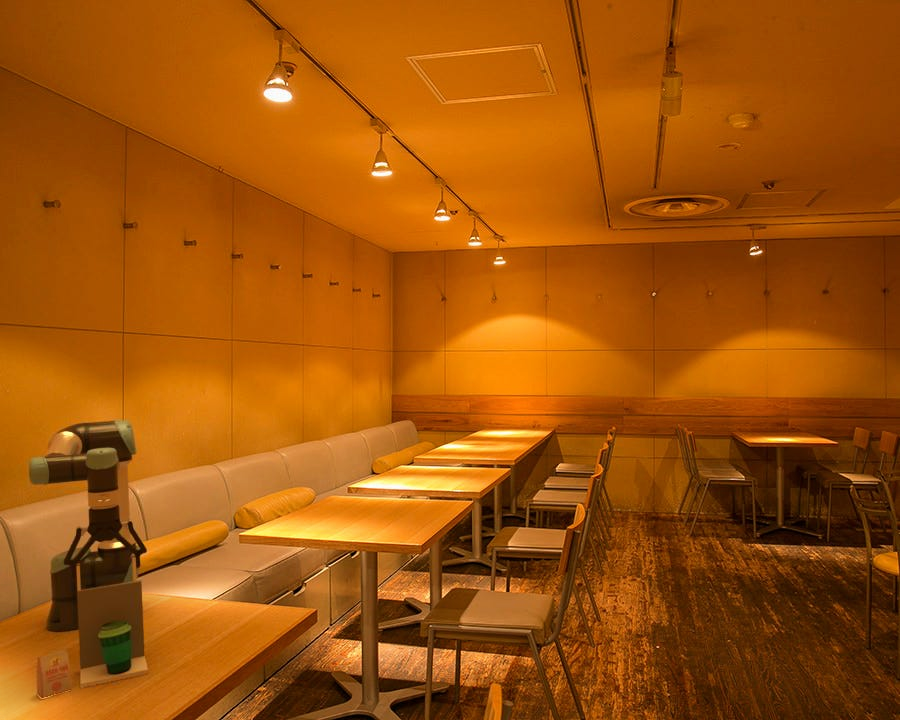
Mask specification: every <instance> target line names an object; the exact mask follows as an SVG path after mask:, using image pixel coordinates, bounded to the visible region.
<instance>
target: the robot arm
mask: <svg viewBox="0 0 900 720" xmlns="http://www.w3.org/2000/svg"><path fill="white" fill-rule="evenodd" d="M136 454H137V447H136V440H135V436H134V431H133V426H132V423H131V422H130V421H129V420H116V419H115V420H108V421H107V420H104V421H93V422H80V423H76V424H71V425H69V426H66V427H65V428H62V429H60V430H58V431H57V432H56V433H55V434H53V435H52V437H51V438H50V439H49V441H48V444H47V451H46V453H45V455H44V456H37V457H32V458H31V459H30V460H29V464H28V477H29V481H30V483H31V485H35V486H36V485H37V486H38V485H42V486H46V485H50V484H51V485H52V484H53V485H54V484H61V483H62V484H64V483H70V482H71V483H72V482H84V481H87V503H88V507H89V509H88V526H87V527H85V526H84V527H82V526H80V525H79V526H77V527H76V530H75V531H76V532H75V536H74V538H73V540H72V543H71V544H70V546H69V548H68V550H66V551H62V552H59V553H58V554H56V555H55V556H53V557H52V558H51V560H50V571H49V573H50V584H51V586H50V587H51V605H50V608H49V612H48V615H47V619H46V629H47V630H49V631H52V632H66V631H74V630H77V629H78V630H79V624H78V601H77V590H78V591H80V590H83V589H89V588H95V587H102V586H108V585H114V584H120V583H126V582H132V581H138V580H137V579H138V578H139V577H138V576H139V568H141V555H143V554H146V553H147V552H148V549H147V547H146V546H145V544H144V542H143V541H142V539H141V537H140V536H139V535H138V533H137V531H136V530H135V529H134V524H133V520H131V518H130V517H131V516H130V514H131V513H130V495H129V494H130V492H129V472H128V467H129V464H130V463H131V462H132V461H133V456H134V455H136ZM86 533H87V534H89V535H90V537H89V538H88V540H87V541H86V543H85V544H84V545H83V546H81V547H78V544H79V543H80V541H81V538H82V537H83V536H84V535H85V534H86ZM96 542H99V543H98V544H97V550H94V551H91V547H92V546H93V545H94V544H95V543H96Z"/></svg>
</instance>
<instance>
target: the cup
mask: <svg viewBox="0 0 900 720" xmlns="http://www.w3.org/2000/svg"><path fill="white" fill-rule="evenodd" d="M130 630H131V626H130V625H128V623H127V622H126V621H113V622H109V623H106V624H104V625H102V626H101V630H100V633H99V634H98V637H99V639H100V643H101V649H102V653H103V657H104V661H105V664H106V667H107V671H108V673H109V674H111V675H116V674H121V673H124V672H127V671H128V670H130V668H131V657H132V651H131V634H130Z"/></svg>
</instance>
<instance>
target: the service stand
mask: <svg viewBox="0 0 900 720" xmlns="http://www.w3.org/2000/svg"><path fill="white" fill-rule="evenodd" d="M142 583H143V582H142V580H137V581H132V582H126V583H120V584H114V585H108V586H102V587H95V588H89V589H83V590H80V591H78V590H77V601H78V624H79V629H78V643H79V645H78V647H79V666H80V670H79V671H80V689H84V687H85V688H88V687H87V686H90V687H92V686H91V685H94V686H97V685H96V684H99V685H102V684H101V683H104V684H108V683H112V682H111V681H113V682H117V681H122V680H127V679H130V677H131V678H136V677H139V676H143V675H144V676H145V675H148V674H149V669H148V664H147V660H146V655H145V635H144V634H145V631H144V612H143V611H144V609H143V591H142V590H143V588H142V586H143V585H142ZM113 621H126V622H127V623H128V625H130V626H131V630H130V634H131V651H132V657H131V668H130V670H128V671H127V672H124V673H121V674H116V675H111V674H109V673H108V671H107V667H106V664H105V661H104V657H103V653H102V649H101V643H100V639H99V637H98V634H99V633H100V630H101V626H102V625H104V624H106V623H109V622H113ZM126 678H127V679H126ZM121 679H122V680H121ZM116 680H117V681H116ZM107 682H108V683H107Z"/></svg>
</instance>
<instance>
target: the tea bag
mask: <svg viewBox="0 0 900 720" xmlns="http://www.w3.org/2000/svg"><path fill="white" fill-rule="evenodd" d="M36 663H37V664H36V671H35V674H36V693H37V694H38V695H39V696H40V697H41V698H44V697H48V696H51V695H54V694H58V693H62V692H65V691H68V690H72V688H71V668H70V667H71V666H70V661H69V654H68V649H64V650H60V651H55V652H53V653H50V654H46V655H42V656H39V657H37V661H36ZM68 692H69V691H68ZM65 693H66V692H65ZM37 694H36V695H37ZM62 694H63V693H62ZM58 695H59V694H58Z"/></svg>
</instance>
